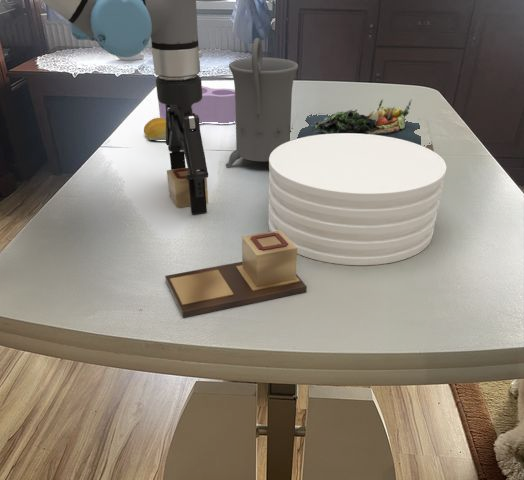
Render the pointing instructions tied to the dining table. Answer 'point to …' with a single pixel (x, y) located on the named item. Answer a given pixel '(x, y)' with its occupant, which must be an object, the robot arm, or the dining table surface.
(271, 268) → the letter O
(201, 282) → the word board
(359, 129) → the plated dish
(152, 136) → the bread roll
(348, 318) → the dining table surface
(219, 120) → the purple block with holes
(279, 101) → the mug
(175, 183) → the letter G
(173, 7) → the robot arm
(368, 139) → the plate stack
